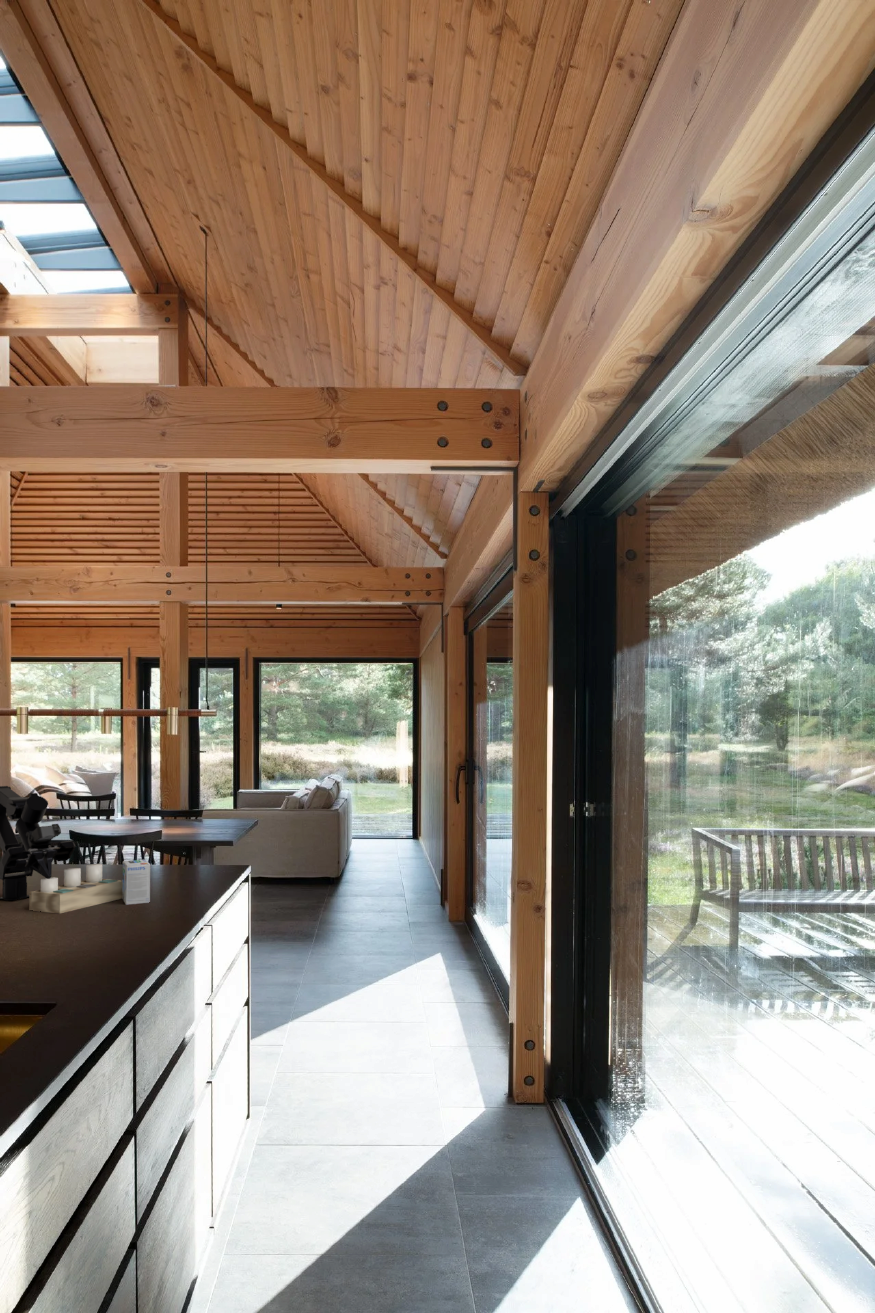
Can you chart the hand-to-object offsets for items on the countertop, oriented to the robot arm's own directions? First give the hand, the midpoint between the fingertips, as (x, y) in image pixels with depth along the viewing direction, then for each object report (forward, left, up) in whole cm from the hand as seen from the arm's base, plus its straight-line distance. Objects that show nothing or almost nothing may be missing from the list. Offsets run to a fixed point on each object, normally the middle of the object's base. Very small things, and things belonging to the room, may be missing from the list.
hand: (49, 877), depth 254 cm
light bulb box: (+14, +18, -9) cm, 24 cm away
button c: (0, +16, -6) cm, 17 cm away
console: (+2, +8, -8) cm, 12 cm away
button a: (0, 0, -7) cm, 7 cm away
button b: (0, +8, -6) cm, 10 cm away
